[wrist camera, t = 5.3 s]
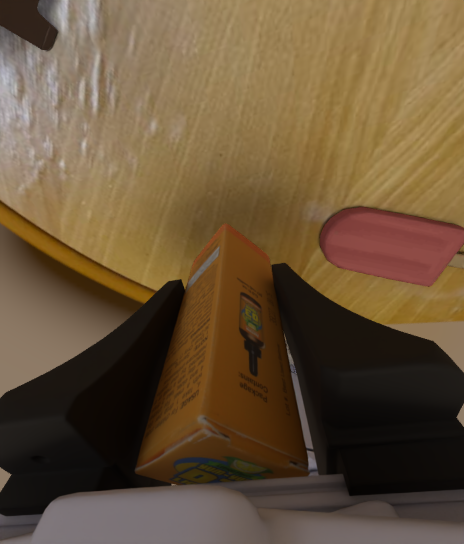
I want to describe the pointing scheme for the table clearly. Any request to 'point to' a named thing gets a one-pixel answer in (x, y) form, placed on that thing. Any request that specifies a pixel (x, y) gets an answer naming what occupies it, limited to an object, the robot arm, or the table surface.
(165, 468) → the supplement box
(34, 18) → the tablet stand
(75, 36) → the table surface
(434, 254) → the popsicle
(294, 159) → the table surface
